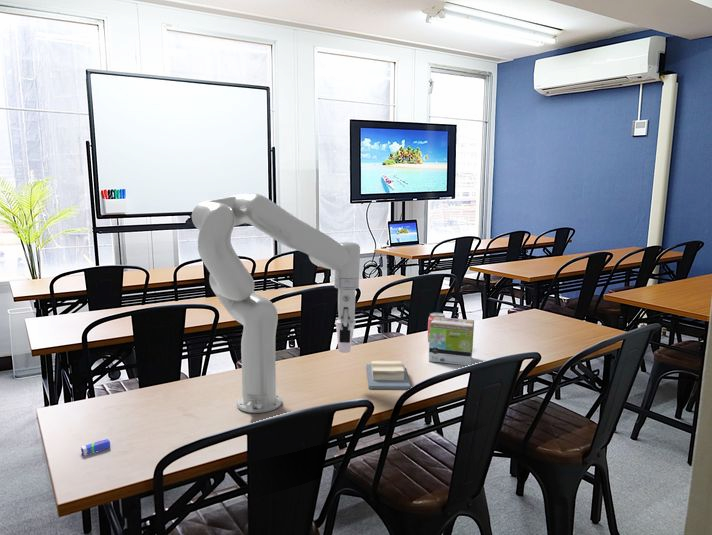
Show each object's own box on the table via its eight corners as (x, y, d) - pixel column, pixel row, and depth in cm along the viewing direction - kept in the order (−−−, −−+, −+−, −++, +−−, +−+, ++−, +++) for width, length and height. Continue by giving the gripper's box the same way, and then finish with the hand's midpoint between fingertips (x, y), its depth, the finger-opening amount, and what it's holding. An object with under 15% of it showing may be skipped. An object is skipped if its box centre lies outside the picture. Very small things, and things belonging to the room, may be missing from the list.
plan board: (410, 389, 168) (410, 386, 168) (368, 388, 168) (368, 385, 168) (403, 367, 188) (403, 364, 188) (366, 367, 188) (366, 364, 188)
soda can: (447, 342, 217) (449, 313, 215) (440, 347, 211) (442, 317, 209) (431, 339, 221) (432, 311, 219) (424, 344, 215) (425, 314, 213)
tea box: (428, 362, 194) (429, 322, 191) (431, 354, 203) (433, 315, 201) (470, 366, 190) (472, 325, 187) (472, 357, 199) (474, 318, 197)
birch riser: (403, 380, 173) (404, 371, 173) (372, 380, 173) (372, 371, 172) (400, 369, 183) (401, 360, 182) (371, 369, 183) (371, 360, 182)
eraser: (81, 453, 127) (80, 445, 127) (108, 446, 131) (107, 438, 131) (83, 457, 126) (82, 449, 125) (110, 449, 130) (110, 441, 129)
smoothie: (358, 351, 170) (360, 307, 168) (344, 355, 165) (346, 310, 163) (344, 346, 174) (345, 304, 172) (329, 350, 169) (331, 306, 168)
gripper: (359, 288, 158) (357, 347, 161) (358, 278, 175) (356, 332, 178) (333, 287, 158) (331, 346, 160) (335, 277, 175) (333, 331, 178)
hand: (344, 338), depth 169 cm, fingers closed on smoothie, 6 cm apart
